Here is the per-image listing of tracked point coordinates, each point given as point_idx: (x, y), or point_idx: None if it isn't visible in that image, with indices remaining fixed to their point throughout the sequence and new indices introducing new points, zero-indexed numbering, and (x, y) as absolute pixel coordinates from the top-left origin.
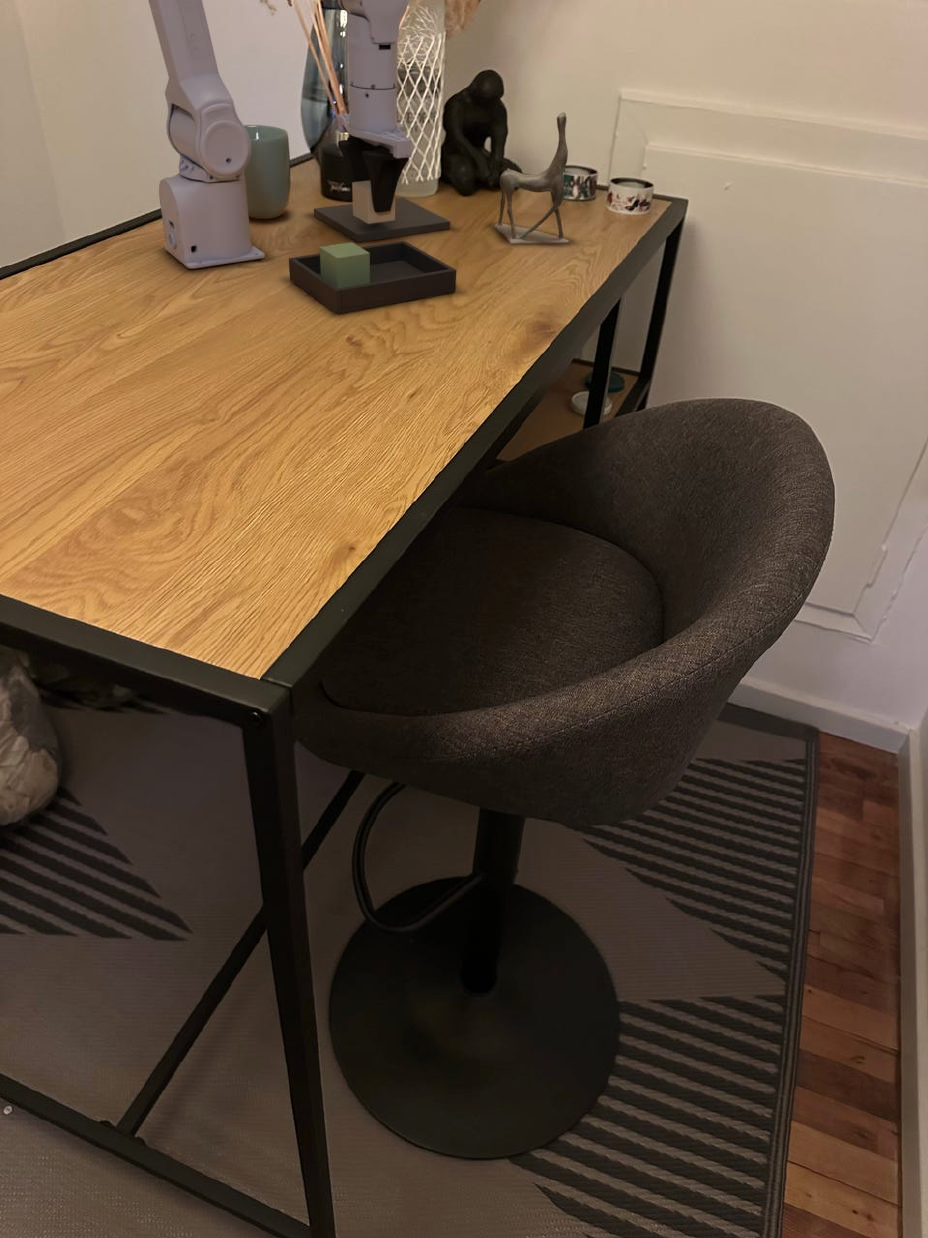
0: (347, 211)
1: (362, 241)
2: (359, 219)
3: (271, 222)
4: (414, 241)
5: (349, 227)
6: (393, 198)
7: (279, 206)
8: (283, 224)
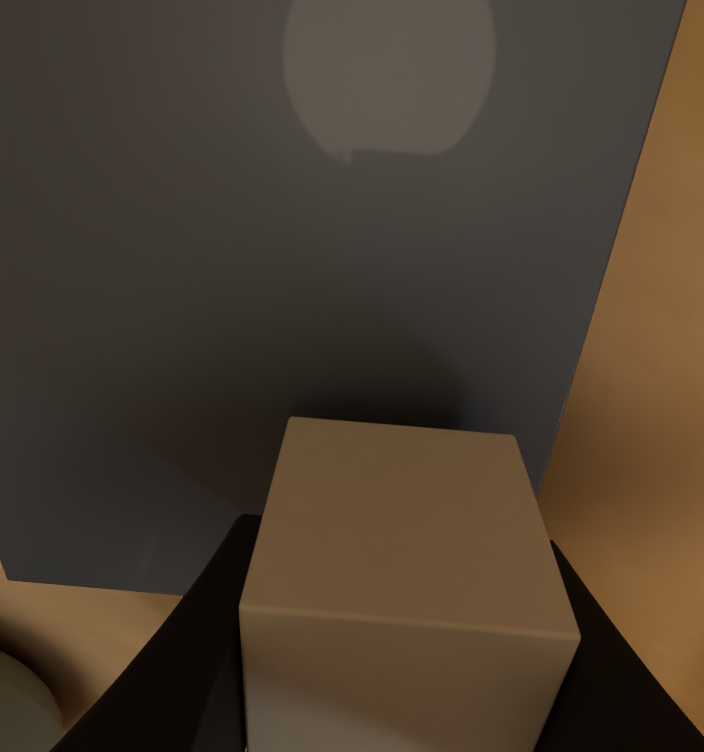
0: (103, 478)
1: None
2: None
3: (80, 690)
4: (681, 358)
5: None
6: (596, 601)
7: (49, 735)
8: (118, 674)
